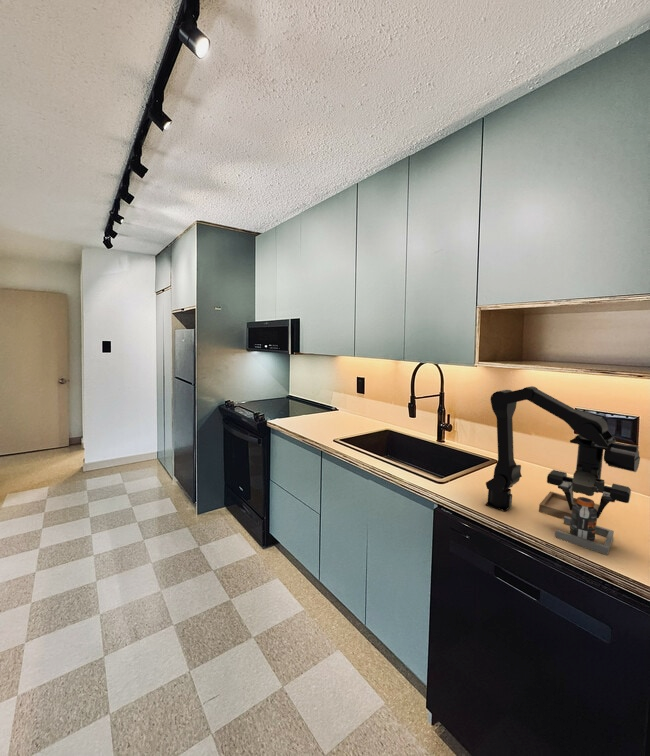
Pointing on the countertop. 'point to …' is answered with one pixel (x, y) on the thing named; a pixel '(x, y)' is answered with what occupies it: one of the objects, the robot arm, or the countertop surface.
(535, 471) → the countertop surface
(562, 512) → the tray
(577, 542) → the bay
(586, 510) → the pill bottle
